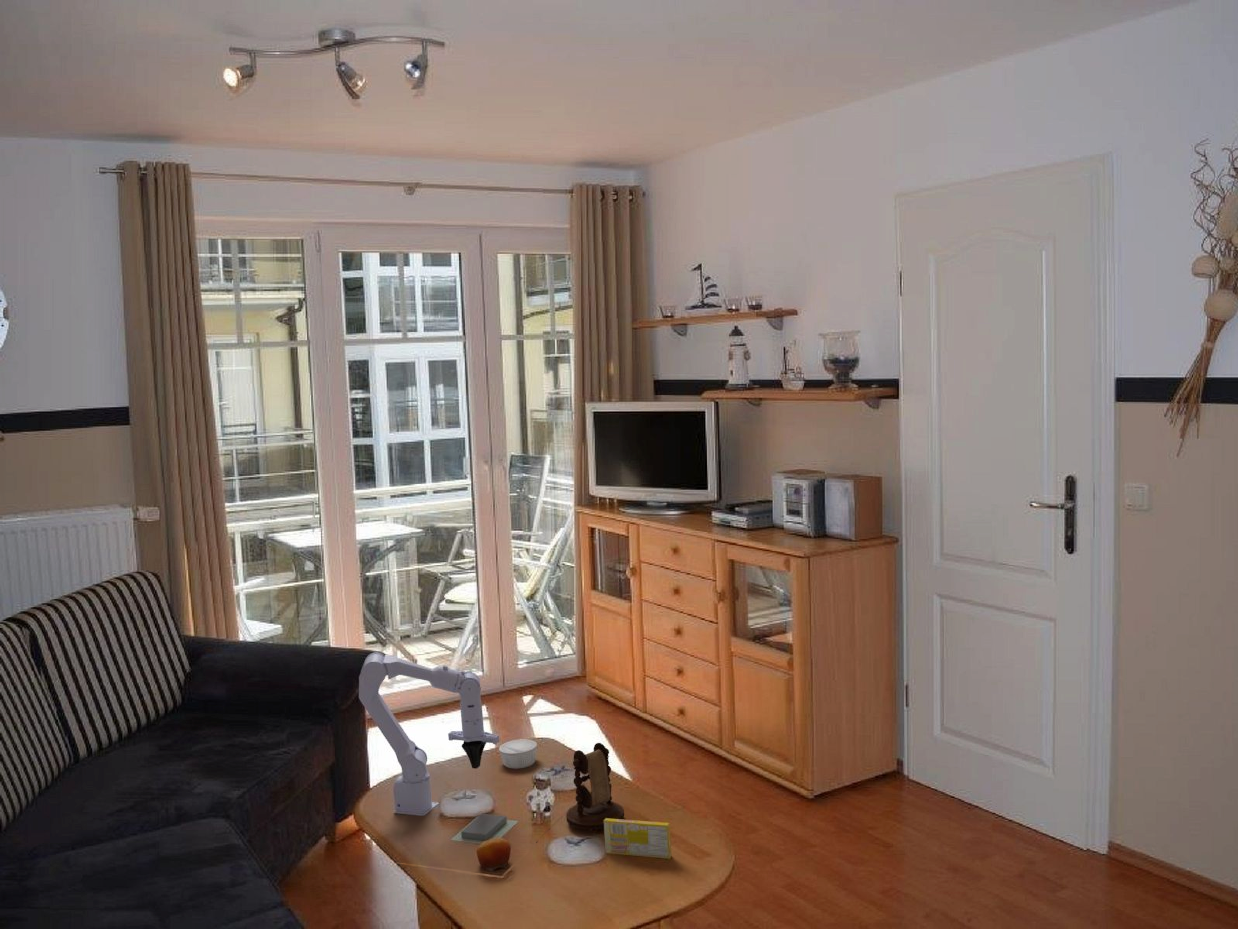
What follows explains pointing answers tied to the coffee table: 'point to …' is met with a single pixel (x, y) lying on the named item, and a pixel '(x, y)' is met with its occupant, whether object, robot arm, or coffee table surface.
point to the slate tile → (484, 827)
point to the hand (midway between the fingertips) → (476, 767)
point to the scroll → (593, 791)
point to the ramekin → (518, 753)
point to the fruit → (494, 853)
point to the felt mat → (497, 834)
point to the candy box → (637, 838)
